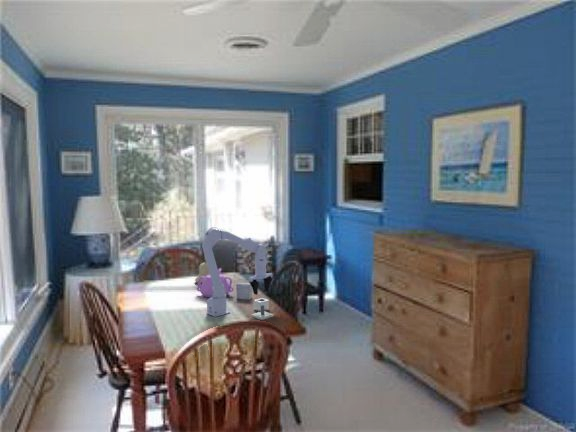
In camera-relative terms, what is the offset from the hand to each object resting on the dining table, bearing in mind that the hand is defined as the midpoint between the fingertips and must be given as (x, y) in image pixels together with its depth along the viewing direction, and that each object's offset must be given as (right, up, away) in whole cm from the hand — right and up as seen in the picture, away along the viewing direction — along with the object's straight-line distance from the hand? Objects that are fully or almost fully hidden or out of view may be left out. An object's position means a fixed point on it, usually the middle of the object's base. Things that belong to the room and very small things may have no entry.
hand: (261, 292), depth 243 cm
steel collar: (0, -9, +1) cm, 9 cm away
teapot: (-28, -6, +32) cm, 43 cm away
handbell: (-39, -3, +61) cm, 73 cm away
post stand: (+1, -10, -10) cm, 15 cm away
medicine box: (-11, -7, +22) cm, 26 cm away
